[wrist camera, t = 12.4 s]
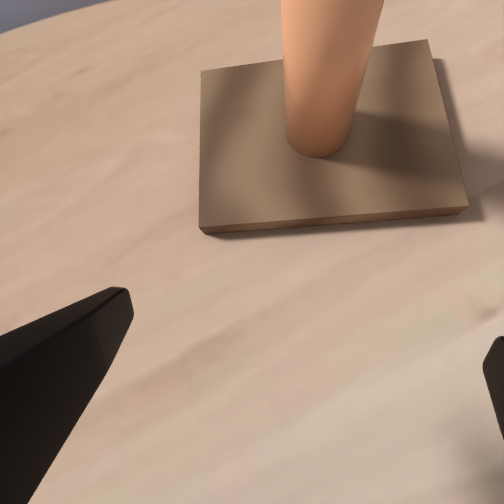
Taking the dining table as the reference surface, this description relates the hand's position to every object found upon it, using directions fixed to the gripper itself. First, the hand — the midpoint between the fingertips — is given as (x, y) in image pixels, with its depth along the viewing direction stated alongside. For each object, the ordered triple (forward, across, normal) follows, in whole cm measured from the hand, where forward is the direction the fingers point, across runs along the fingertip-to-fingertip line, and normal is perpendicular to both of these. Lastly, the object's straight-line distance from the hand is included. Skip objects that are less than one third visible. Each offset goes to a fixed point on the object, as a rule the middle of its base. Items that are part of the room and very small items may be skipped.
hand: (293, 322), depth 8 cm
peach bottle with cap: (+19, 0, -2) cm, 19 cm away
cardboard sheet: (+20, 0, -1) cm, 20 cm away
